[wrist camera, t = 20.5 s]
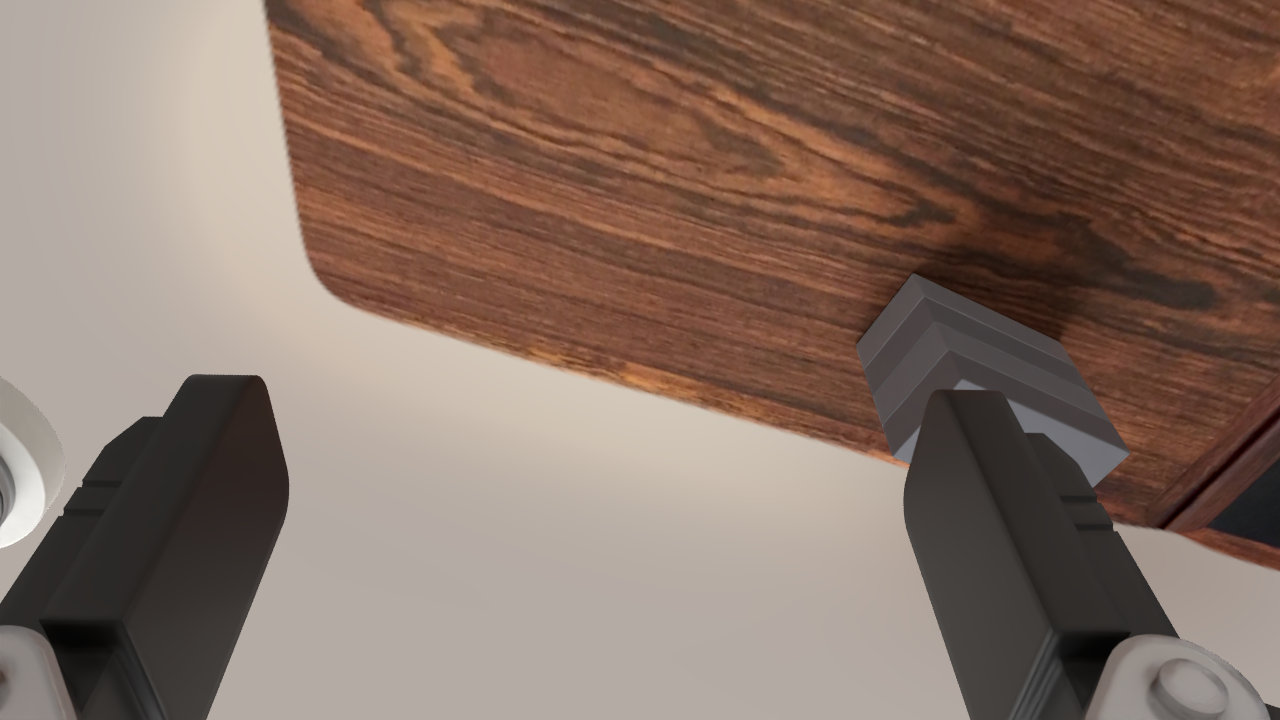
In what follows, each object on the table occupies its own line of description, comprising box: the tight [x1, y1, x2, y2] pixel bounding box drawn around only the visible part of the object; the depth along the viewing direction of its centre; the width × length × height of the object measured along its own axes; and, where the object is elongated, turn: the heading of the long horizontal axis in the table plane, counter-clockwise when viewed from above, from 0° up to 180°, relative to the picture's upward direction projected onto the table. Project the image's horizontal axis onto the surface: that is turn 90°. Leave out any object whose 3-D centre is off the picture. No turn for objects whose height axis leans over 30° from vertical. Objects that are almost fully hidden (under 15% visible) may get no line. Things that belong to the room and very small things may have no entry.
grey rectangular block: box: [856, 273, 1130, 488], centre depth 38 cm, size 8×4×7 cm, turn 63°
